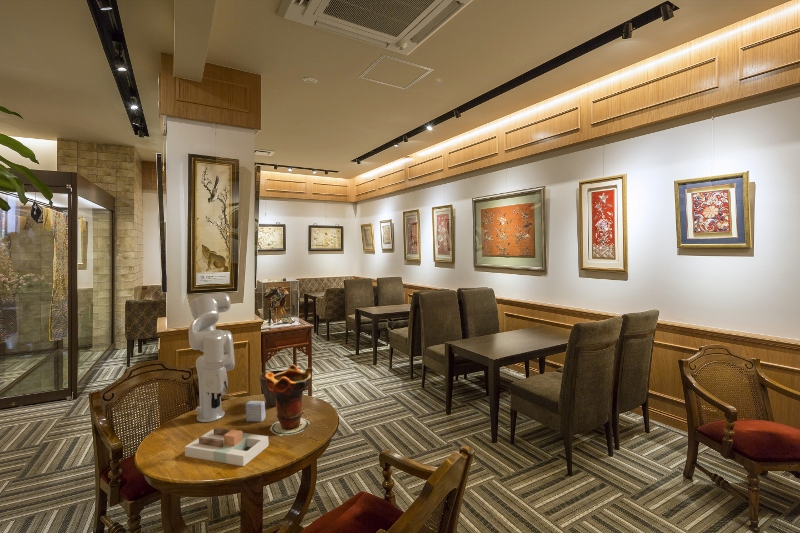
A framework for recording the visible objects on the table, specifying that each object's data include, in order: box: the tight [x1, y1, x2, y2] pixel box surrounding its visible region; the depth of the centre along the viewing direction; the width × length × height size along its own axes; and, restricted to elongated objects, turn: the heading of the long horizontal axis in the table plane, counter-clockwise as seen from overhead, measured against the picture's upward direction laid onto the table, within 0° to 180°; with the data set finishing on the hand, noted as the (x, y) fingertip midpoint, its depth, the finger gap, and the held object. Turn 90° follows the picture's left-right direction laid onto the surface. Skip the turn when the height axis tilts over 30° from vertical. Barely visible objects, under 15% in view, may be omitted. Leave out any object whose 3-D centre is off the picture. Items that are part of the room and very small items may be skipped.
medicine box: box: [245, 400, 267, 422], centre depth 191 cm, size 8×4×9 cm, turn 84°
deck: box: [184, 428, 270, 467], centre depth 163 cm, size 28×16×4 cm, turn 74°
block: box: [224, 429, 243, 446], centre depth 162 cm, size 5×5×4 cm
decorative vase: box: [265, 364, 314, 437], centre depth 184 cm, size 21×23×28 cm
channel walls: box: [198, 427, 232, 447], centre depth 164 cm, size 11×9×2 cm
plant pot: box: [259, 369, 285, 408], centre depth 210 cm, size 15×15×16 cm
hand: (215, 406), depth 164 cm, fingers closed
